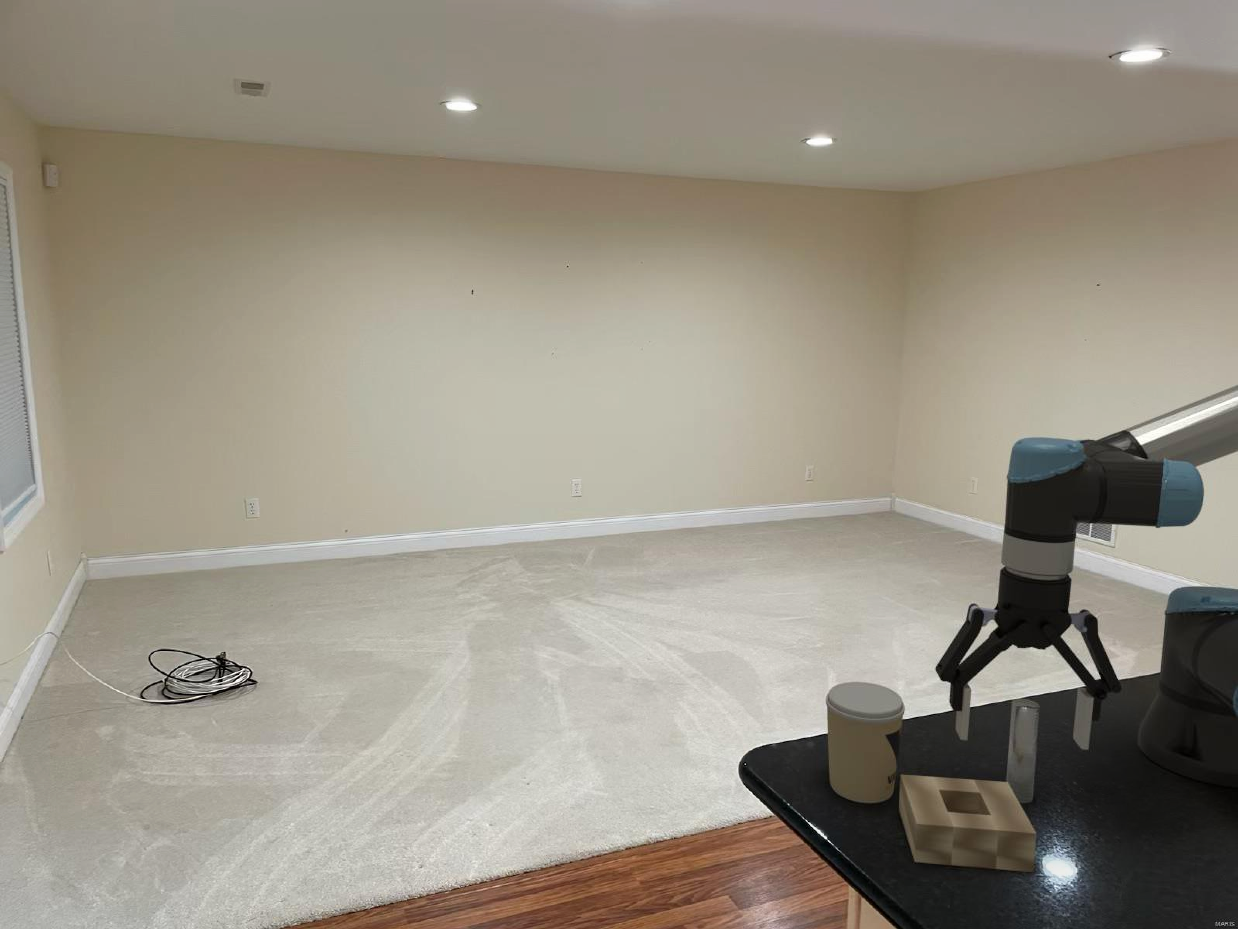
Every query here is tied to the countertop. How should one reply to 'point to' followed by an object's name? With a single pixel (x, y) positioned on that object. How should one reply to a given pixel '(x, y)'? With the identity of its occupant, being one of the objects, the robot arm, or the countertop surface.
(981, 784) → the hole block
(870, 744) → the coffee cup
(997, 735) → the countertop surface
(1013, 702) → the peg
